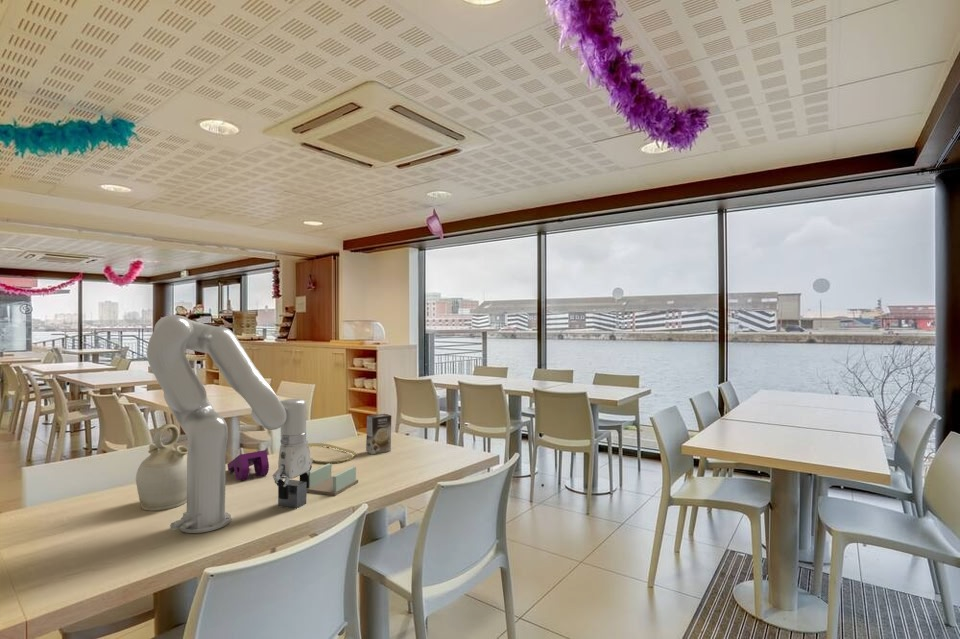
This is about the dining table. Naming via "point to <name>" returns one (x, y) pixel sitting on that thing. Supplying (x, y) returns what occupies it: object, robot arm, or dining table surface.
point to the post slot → (331, 480)
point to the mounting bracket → (249, 464)
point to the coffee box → (378, 433)
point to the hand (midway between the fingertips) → (294, 493)
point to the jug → (163, 473)
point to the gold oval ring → (332, 447)
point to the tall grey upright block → (294, 494)
